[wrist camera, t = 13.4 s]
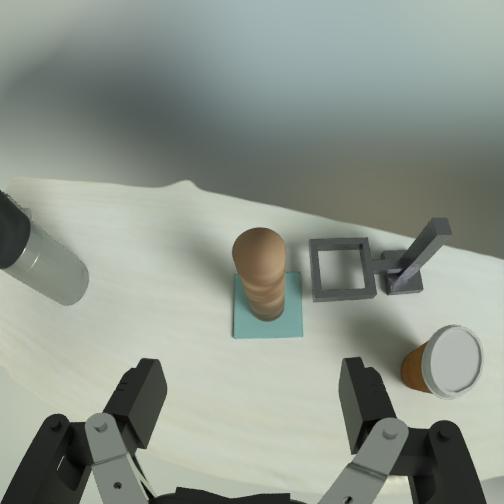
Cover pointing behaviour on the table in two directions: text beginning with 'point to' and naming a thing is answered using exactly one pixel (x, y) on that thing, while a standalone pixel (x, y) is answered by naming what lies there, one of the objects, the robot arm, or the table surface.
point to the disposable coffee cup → (445, 363)
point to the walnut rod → (262, 271)
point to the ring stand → (381, 263)
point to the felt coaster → (279, 328)
